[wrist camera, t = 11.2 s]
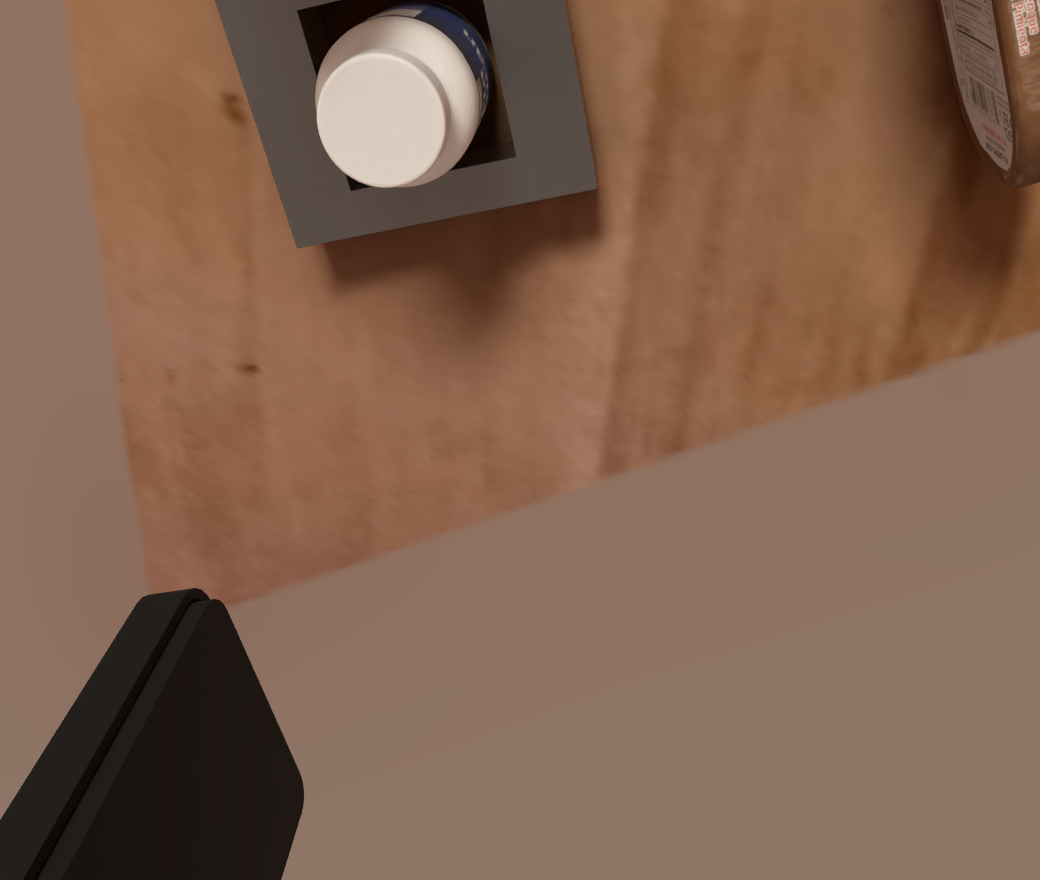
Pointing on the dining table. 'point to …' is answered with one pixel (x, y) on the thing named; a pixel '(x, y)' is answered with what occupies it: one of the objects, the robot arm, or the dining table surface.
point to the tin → (998, 80)
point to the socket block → (477, 175)
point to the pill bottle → (403, 94)
